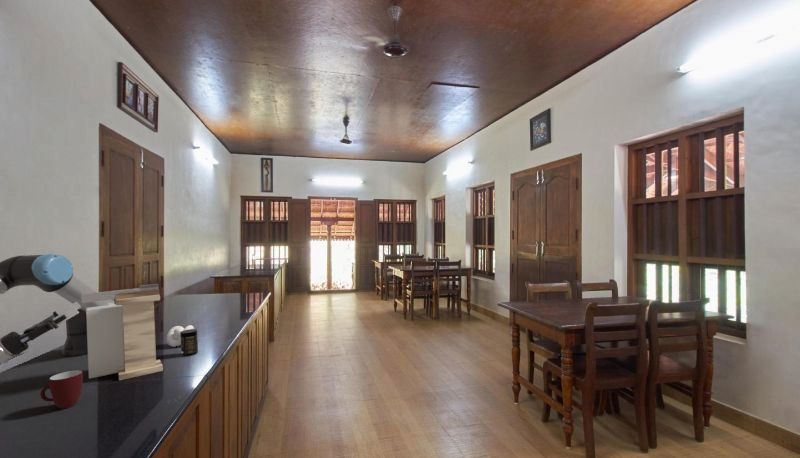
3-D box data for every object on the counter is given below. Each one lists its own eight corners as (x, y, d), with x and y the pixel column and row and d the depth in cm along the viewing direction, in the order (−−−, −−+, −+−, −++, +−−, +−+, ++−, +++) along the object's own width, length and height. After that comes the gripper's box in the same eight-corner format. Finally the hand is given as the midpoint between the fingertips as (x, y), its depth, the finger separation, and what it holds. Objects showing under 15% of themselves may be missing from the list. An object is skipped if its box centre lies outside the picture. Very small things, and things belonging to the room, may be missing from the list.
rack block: (89, 372, 152) (86, 307, 152) (123, 365, 158) (121, 303, 158) (88, 378, 145) (86, 310, 145) (124, 371, 152) (121, 306, 152)
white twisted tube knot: (200, 344, 186) (199, 325, 186) (172, 350, 178) (171, 331, 178) (191, 340, 194) (191, 322, 194) (165, 346, 185) (164, 327, 185)
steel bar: (81, 302, 141) (81, 291, 141) (158, 293, 156) (157, 283, 156) (81, 303, 139) (81, 292, 139) (159, 294, 154) (158, 284, 154)
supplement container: (201, 353, 172) (200, 330, 172) (186, 357, 166) (185, 333, 166) (193, 351, 176) (192, 328, 176) (178, 355, 170) (177, 332, 170)
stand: (118, 373, 150) (115, 292, 150) (159, 364, 159) (156, 287, 159) (119, 380, 142) (115, 295, 142) (162, 370, 151) (159, 290, 151)
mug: (35, 416, 115) (34, 383, 115) (45, 406, 122) (43, 375, 122) (80, 407, 120) (78, 376, 120) (86, 398, 127) (85, 368, 127)
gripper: (22, 347, 139) (86, 309, 150) (8, 365, 119) (83, 320, 130) (6, 331, 136) (72, 294, 148) (-11, 347, 117) (67, 303, 128)
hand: (77, 306), depth 139 cm, fingers open, 13 cm apart
